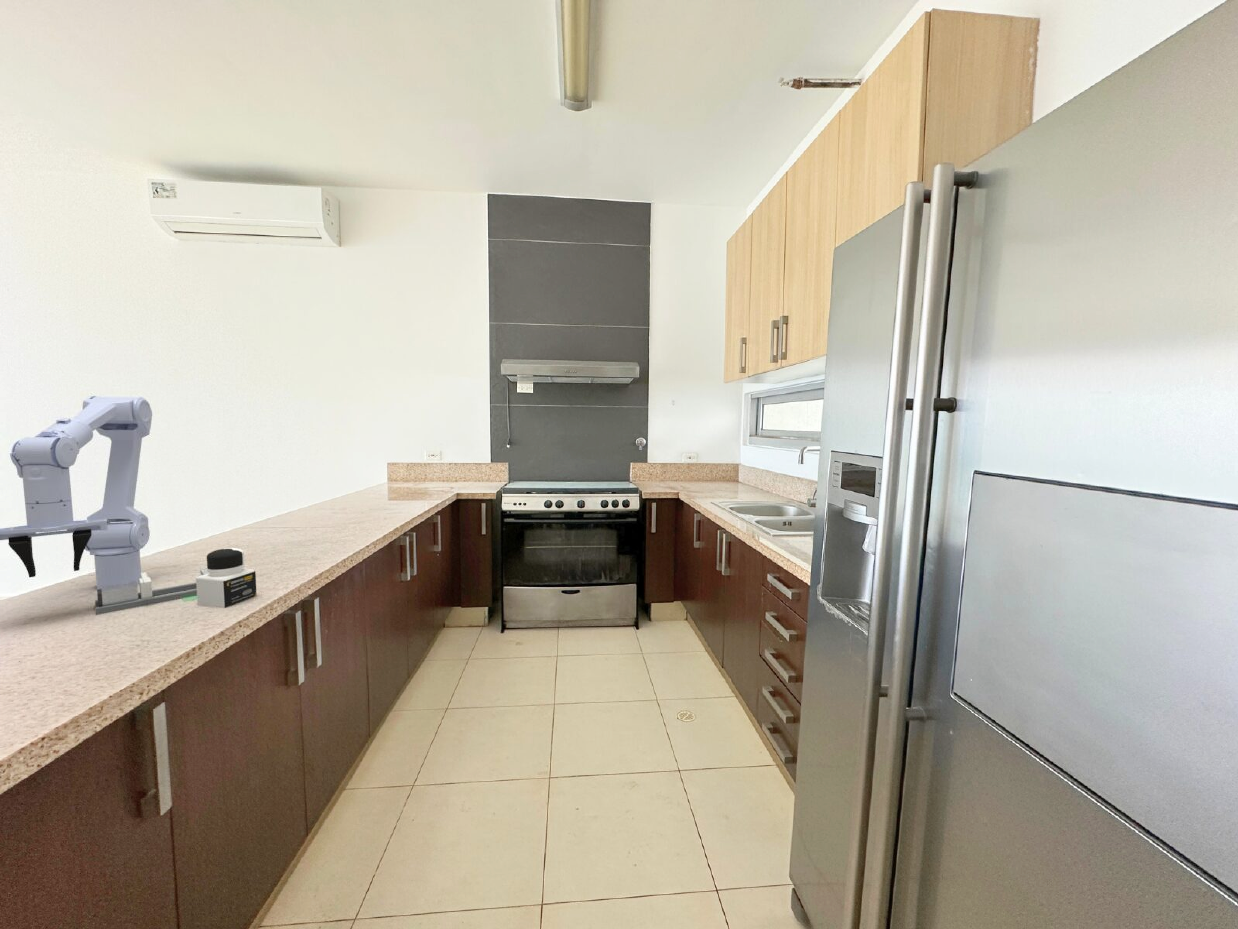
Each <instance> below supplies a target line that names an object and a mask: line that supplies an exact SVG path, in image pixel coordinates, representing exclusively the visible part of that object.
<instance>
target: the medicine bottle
mask: <svg viewBox="0 0 1238 929" xmlns="http://www.w3.org/2000/svg"><path fill="white" fill-rule="evenodd" d="M244 552H245V551H244V550H243V549H241V548H236V547H230V548H220V549H216V550H214V551H213V550H212V551H211V552H209V553H208V554H207V555H206V566H207V571H208V574H205V575H201V574H200V575H199V576H196V577H195V581H196V582H195V583H196V586H197V599H196V600H197V605H198V606H203V607H205V606H207V607H213V608H214V607H215V608H223V609H224V608H229V607H232V606H234V605H237V604H239V603H242V602H245V601H248V600H250V599H253V598H256V597H257V596H258V594H257V577H256V574H257V573H256V569H250V568H245V555H244Z"/></svg>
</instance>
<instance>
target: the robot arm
mask: <svg viewBox="0 0 1238 929" xmlns="http://www.w3.org/2000/svg"><path fill="white" fill-rule="evenodd" d="M152 418H153V410H152V408H151V405H150V403H149V402H148V400H147V399H146V398H145V397H142V396H137V397H125V396H124V397H121V396H119V397H118V396H96V395H91V396H87V398H86V399H83V401H82V409H81V411H80V412H79V413H77V414H76V415H75V416H74V417H73V418H72V417H71V418H68V417H59V418H58V419H56V420H55V423H53V424H52V425H50V426H49V427H47V428H46V429H43V430H42V431H41V432H39V433H38V434H37V435H35V436H32V437H31V436H30V437H29V436H27V437H26V436H25V437H22V438H21V439H19V440H17V441H15V442H14V443H13V445H12V447H11V452H10V453H9V456H10V459H11V463H12V464H13V465H14V466H15V468H16V471H17V476H18V477H19V478H20V479H22V484H23V486H22V487H23V495H24V496H23V497H24V505H25V518H26V525H19V526H13V527H12V526H11V527H3V528H0V541H7V540H8V543H7V544H8V546H9V547H10V549H11V550H12V551H13V552H14V553H15V554H16V555H17V556H18V557H19V559H20V560H21V561H22V563H23V565H24V567H25V569H26V571H27V573H28V574H27V575H28V578H34V577H36V574H37V572H36V566H35V565H36V564H35V561H34V556H33V554H34V553H33V539H32V538H35V537H36V538H37V537H45V536H54V535H56V536H57V535H63V534H72V536H71V537H72V543H73V545H72V546H73V547H72V549H73V571H74V572H77V571H80V565H81V560H82V557H83V553H84V551H86V552H89V555H90V556H94V557H93V558H94V569H95V581H96V590H98V589H101V587H103V586H109V585H115V584H121V583H127V582H133V581H136V583H137V585H140V584H139V579H140V578H141V573H142V564H141V552H140V550H141V549H143V548H144V547H145V546H146V545H147V544H148V542H149V540H150V527H149V517H148V516H147V515H146V514H144V513H143V512H141V511H139V510H138V509H136V508H134V507H135V500H136V491H137V482H138V473H139V466H140V458H141V450H142V441H143V438H145V437H147V436H149V435H150V433H151V432H150V431H151V428H152V420H153V419H152ZM94 431H96V432H97V433H98V434H99V435H100V436H103V437H106V438H109V439H110V442H111V443H110V452H109V458H108V464H107V472H106V473H107V474H106V479H105V488H104V493H103V494H104V495H103V501H102V502H103V503H102V507H101V508H100V509H99V510H97V511H95V512H93V513H92V514H90V515H89V516H87V517H86V520H85V519H83V520H74V512H73V502H72V501H73V500H72V499H73V498H72V488H71V486H72V485H71V476H70V467H72V466H74V465H75V463H76V460H77V457H78V455H79V454H80V450H81V449H82V448H83V447H84V446H86V445H88V443H90V442H91V441H92V440H93V438H94Z"/></svg>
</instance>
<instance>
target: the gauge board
mask: <svg viewBox="0 0 1238 929" xmlns="http://www.w3.org/2000/svg"><path fill="white" fill-rule="evenodd" d="M199 573H200V576H201V575H205V574H208V571H207V568H202V569H201V568H200V572H199ZM176 600H177V601H178V600H182V601H183V602H184V603H185V602H189V601H195V600H197V586H196V582H192V583H191V582H190V583H186V584H181V585H174V586H168V587H164V588H158V589H152V598H146V599H141V598H140V592H138V600H135V601H130V602H124V603H119V604H114V605H108V606H103V607H98V599H96V600H94V604H95V606H94V607H95V615H96V616H97V615H98V616H99V615H102V614H103V615H104V614H108V613H114V612H119V611H123V610H124V611H125V610H129V609H133V608H140V607H145V606H151V605H154V604H155V605H156V604H161V603H166V602H171V601H176Z"/></svg>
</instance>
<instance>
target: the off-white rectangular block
mask: <svg viewBox="0 0 1238 929" xmlns="http://www.w3.org/2000/svg"><path fill="white" fill-rule="evenodd" d="M138 585H139V593H140V598H141V599H146V598H152V590H153V585H152V579H151V577H150V576H148V574H147V572H146V571H144V572H141V578H140V579H139V584H138ZM141 599H140V600H141Z"/></svg>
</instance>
